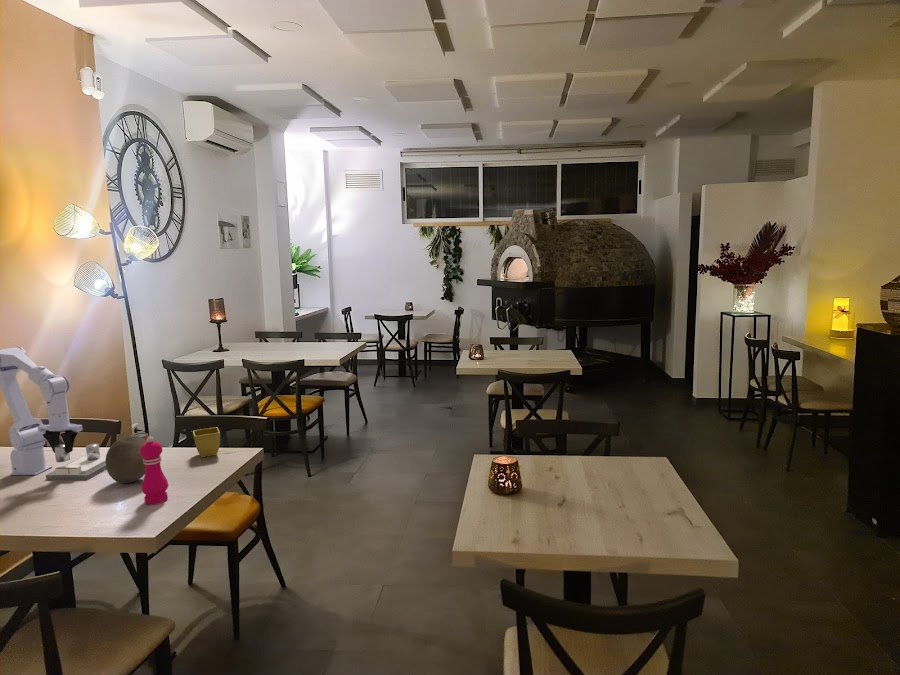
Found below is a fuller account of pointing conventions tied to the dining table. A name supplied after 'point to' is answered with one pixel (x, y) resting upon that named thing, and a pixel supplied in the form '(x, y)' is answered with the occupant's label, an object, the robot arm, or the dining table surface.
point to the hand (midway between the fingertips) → (63, 452)
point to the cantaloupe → (126, 459)
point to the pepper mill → (153, 473)
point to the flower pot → (207, 441)
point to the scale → (79, 469)
